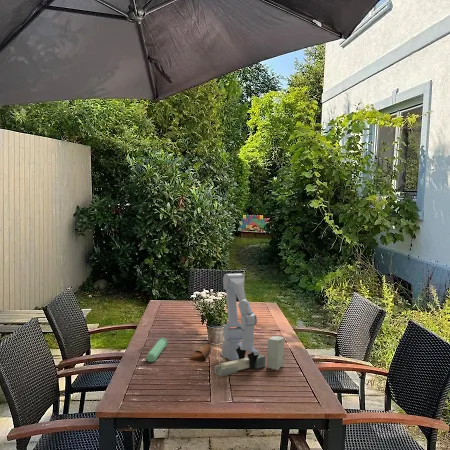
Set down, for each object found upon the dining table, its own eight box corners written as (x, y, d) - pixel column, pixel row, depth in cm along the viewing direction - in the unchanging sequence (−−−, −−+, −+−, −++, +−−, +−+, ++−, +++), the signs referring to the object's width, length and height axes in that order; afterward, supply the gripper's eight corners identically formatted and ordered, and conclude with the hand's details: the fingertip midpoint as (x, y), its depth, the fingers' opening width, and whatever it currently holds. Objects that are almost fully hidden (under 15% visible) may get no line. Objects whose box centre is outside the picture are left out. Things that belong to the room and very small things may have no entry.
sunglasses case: (195, 348, 264) (201, 338, 263) (206, 356, 264) (212, 346, 263) (188, 359, 246) (195, 349, 245) (200, 367, 246) (207, 357, 245)
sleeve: (214, 373, 230) (215, 366, 229) (231, 369, 236) (231, 362, 235) (220, 376, 226) (221, 369, 225) (237, 372, 232) (238, 365, 231)
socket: (247, 364, 243) (248, 354, 243) (255, 362, 246) (256, 352, 246) (256, 368, 237) (257, 358, 237) (264, 366, 241) (265, 356, 240)
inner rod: (220, 371, 230) (221, 363, 230) (246, 365, 240) (247, 357, 240) (224, 373, 228) (225, 365, 228) (250, 367, 238) (251, 359, 237)
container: (153, 351, 240) (165, 336, 264) (142, 354, 240) (155, 339, 265) (157, 362, 240) (169, 346, 264) (146, 365, 240) (159, 349, 265)
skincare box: (277, 370, 236) (278, 340, 235) (266, 368, 239) (267, 338, 238) (283, 365, 243) (285, 336, 242) (272, 363, 246) (274, 334, 245)
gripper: (232, 335, 240) (231, 362, 241) (251, 343, 229) (249, 371, 230) (243, 333, 245) (242, 359, 246) (262, 341, 233) (261, 368, 234)
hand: (246, 365), depth 238 cm, fingers open, 7 cm apart
